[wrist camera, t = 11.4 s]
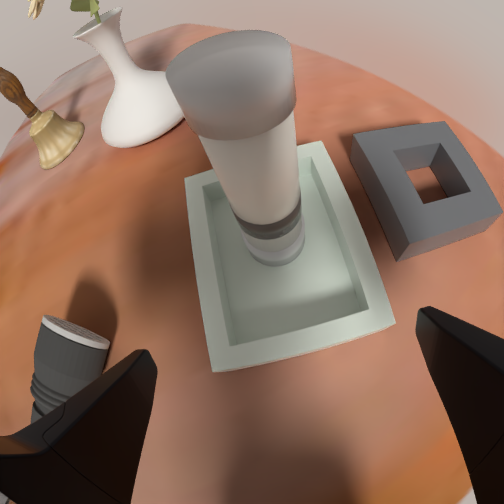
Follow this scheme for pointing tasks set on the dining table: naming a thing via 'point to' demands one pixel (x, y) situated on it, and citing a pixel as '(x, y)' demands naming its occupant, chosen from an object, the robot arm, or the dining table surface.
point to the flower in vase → (125, 82)
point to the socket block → (405, 195)
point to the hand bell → (43, 124)
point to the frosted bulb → (247, 133)
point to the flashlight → (64, 363)
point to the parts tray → (284, 274)
